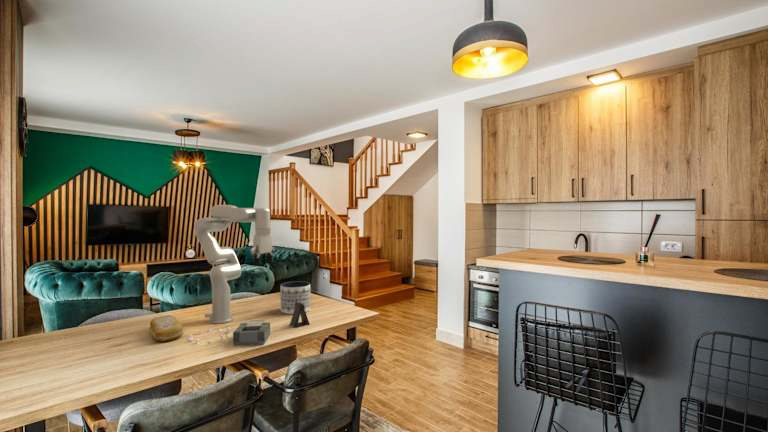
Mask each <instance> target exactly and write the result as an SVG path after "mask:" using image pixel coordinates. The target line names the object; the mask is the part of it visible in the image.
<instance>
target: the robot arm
mask: <svg viewBox="0 0 768 432" xmlns="http://www.w3.org/2000/svg"><path fill="white" fill-rule="evenodd" d="M210 216H211V217H201V218H199V219H197V220H196V221H195V223H194V226H193V227H194V228H193V230H194V235H195V237H196V239H197V240H198V241H199V243H200V245H201V246H200V247H201V248H202V250H203V253H204V256H205V258H206V261H207V263H208V264H209V265H214V266H212V268H211V269H210V270H209V278H210V283H211V307H212V308H211V311H212V312H211V313H210V312H209V313H205V314H204V317H205V318H206V319H207V318H208V319H209V323H210V324H218V325H219V324H225V323H226V324H227V323H230V322H232V321H233V320H234V316H233V315H231V287H230V285H229V283H228V281H232V280H236V279H238V278H240V277H241V275H242V267H241V265H240V262H239V259H238V257H237V254H236V252H235V250H234V249H233V248H232V247H230V246H220V244H219V243H218V240H217V239H216V237H215V236H214V235H213V234H211V233H215V232H216V233H218V232H224V231H225V230H226V229H228V227H229V226H230V225H231V224H232V223H254V233H255V234H254V235H253V242H252V248H251V249H250V253H251V256H252V258H253V266H254V267H258V266H261V258H260V256H261V255H263V254H266V264H272V263H273V255H274V250H275V249H276V248H275V246H274V245H273V242H272V235H271V210H270V208H269V207H263V208H262V207H258V208H257V207H238V206H236V205H232V204H217V205H213V206H212V207H211V208H210Z"/></svg>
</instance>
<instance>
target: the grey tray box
mask: <svg viewBox="0 0 768 432" xmlns="http://www.w3.org/2000/svg"><path fill="white" fill-rule="evenodd" d="M268 323H270V324H271V322H270V321H265V320H264V319H262V320H249V321H248V322H241V321H240V323H239V325H240V324H247V325H246V326H245V331H259V329H260V328H261V326H262V325H263V324H268Z"/></svg>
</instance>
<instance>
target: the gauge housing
mask: <svg viewBox="0 0 768 432" xmlns="http://www.w3.org/2000/svg"><path fill="white" fill-rule="evenodd" d="M246 325H247V324H240V323H239V326H238V327H237V328H236V329H235V330H233V332H232V346H233V347H236V346H255V345H258V346H261V345H265V344H266V342H267V340H268V339H269V337H270V335H271V322H270V323H268V324H263V325H262V326H261V328H260V329H259V331H245V326H246Z"/></svg>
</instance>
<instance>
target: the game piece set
mask: <svg viewBox="0 0 768 432" xmlns="http://www.w3.org/2000/svg"><path fill="white" fill-rule="evenodd" d="M217 327H218V329H219V330H218V332H222V331H223V329H222V328H220V327H219V325H217ZM231 329H232V328H231V327H230V326H228V327H226V331H225V333H226V334H227V337H228V338H229V337H230V335H229V333H230V331H231ZM196 331H197V332H196ZM201 333H202V330H201V329H200V330H198V329H196V328H195V334H196V335H200V334H201ZM207 333H212V328H211V325H209V326H208V330H207ZM219 338H220V341H223V340H224V335H223V334H220V335H219ZM193 340H194V338H193V334H189V335H188V337H187V341H189V342H191V341H193ZM200 340H201V339H200V338H198V337H197V338H195V345H199V344H200ZM207 343H208V344H211V343H212V341H211V339H209V340H208V341H207Z"/></svg>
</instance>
